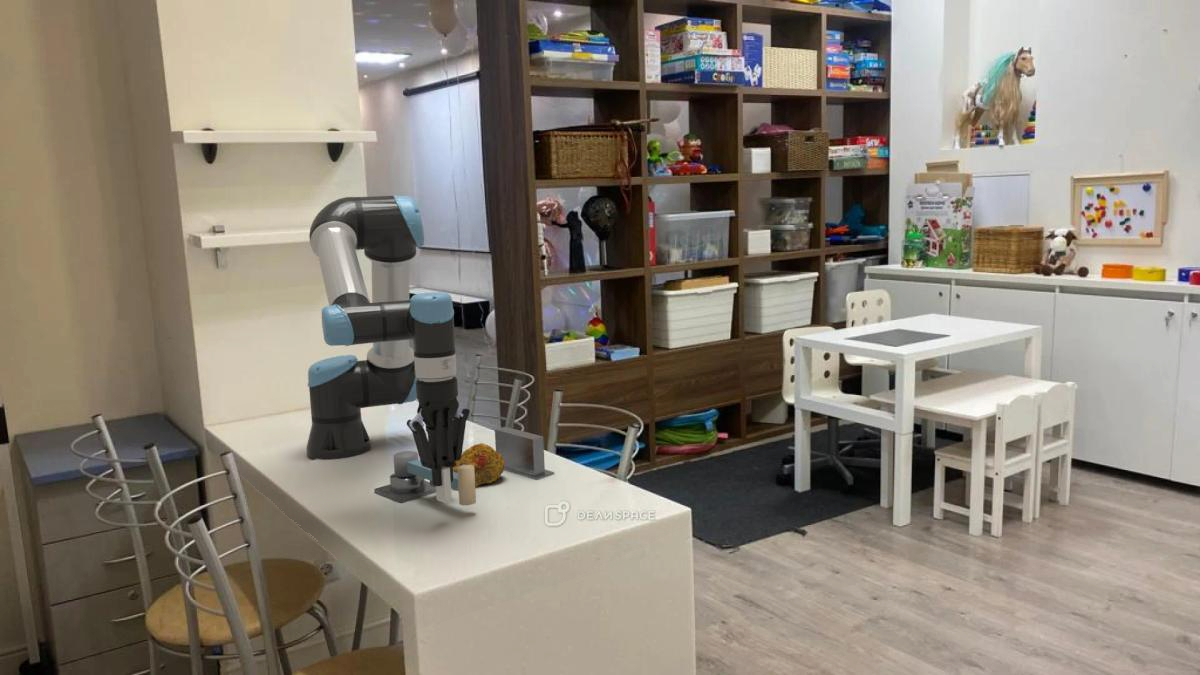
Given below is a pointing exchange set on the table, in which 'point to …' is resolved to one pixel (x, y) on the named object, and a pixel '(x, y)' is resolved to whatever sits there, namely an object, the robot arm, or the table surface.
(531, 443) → the frame
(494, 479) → the golden brown lumpy piece
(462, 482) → the lever
